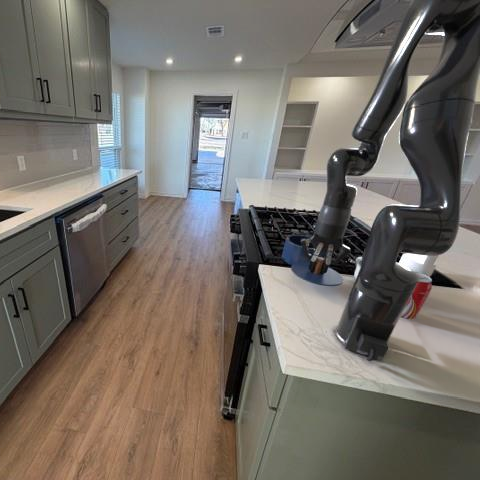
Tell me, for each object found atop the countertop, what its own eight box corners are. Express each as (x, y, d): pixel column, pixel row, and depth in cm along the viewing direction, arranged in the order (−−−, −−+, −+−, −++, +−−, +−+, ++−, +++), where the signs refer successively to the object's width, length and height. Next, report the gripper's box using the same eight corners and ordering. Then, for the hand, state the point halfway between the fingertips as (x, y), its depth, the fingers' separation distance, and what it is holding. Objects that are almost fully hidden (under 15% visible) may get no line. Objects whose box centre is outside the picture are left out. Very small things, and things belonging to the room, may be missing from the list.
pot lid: (345, 293, 72) (352, 274, 70) (289, 279, 78) (294, 262, 76) (339, 271, 84) (345, 255, 82) (291, 261, 90) (295, 245, 88)
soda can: (376, 304, 74) (392, 268, 69) (400, 305, 74) (418, 269, 69) (395, 320, 68) (415, 282, 63) (422, 321, 67) (444, 283, 63)
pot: (321, 274, 89) (328, 252, 86) (279, 264, 95) (285, 243, 92) (319, 258, 100) (326, 239, 97) (282, 250, 106) (287, 232, 103)
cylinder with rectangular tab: (390, 266, 96) (403, 237, 91) (417, 269, 95) (432, 240, 90) (406, 278, 88) (421, 247, 83) (436, 282, 86) (453, 250, 82)
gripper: (306, 219, 74) (292, 271, 81) (364, 228, 68) (343, 283, 75) (305, 213, 80) (292, 262, 87) (358, 221, 74) (340, 272, 81)
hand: (316, 271), depth 81 cm, fingers closed on pot lid, 2 cm apart
